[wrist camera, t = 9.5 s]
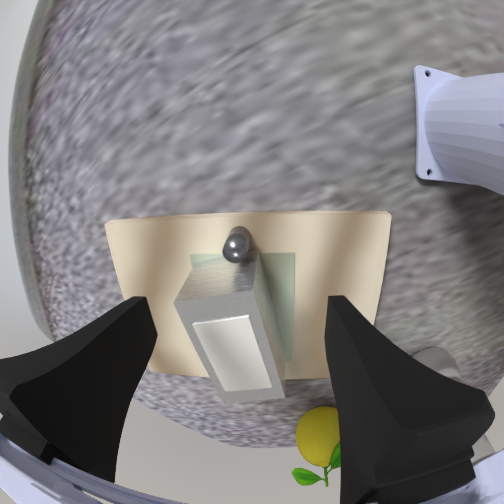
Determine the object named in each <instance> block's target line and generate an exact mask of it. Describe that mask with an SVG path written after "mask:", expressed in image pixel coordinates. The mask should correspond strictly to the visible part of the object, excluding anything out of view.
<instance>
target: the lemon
mask: <svg viewBox="0 0 504 504" xmlns="http://www.w3.org/2000/svg"><path fill="white" fill-rule="evenodd" d="M296 443H297V446H298V449H299V451H300V453H301V455H302V456H303V458H304V459H305V460H306V461H308V462H309V463H311V464H313V465H315V466H321V467H322V468H324V474H325V479H322V478H320V477H319V476H318V475H316V474H315V473H313V472H311V471H309V470H306V469H303V468H295V469H294V470H293V471H292V474H293V476H294V478H295V480H296V481H297V482H298V483H299V484H301V485H311V484H314V483H315V482H317V481H319V480H324V481H325V483H326V487H327V486H328V477H327V474H328V473H329V472H330V471H331V470H332V469H334V468H337V467H341V454H340V434H339V420H338V411H337V409H336V408H334V407H328V406H320V407H317V408H314V409H311V410H309V411H308V412H306V413H305V414H304V415H303V416H302V417H301V418H300V419H299V422H298V424H297V429H296ZM330 465H331V469H330V470H329V471H328V472H327V468H328V467H329V466H330Z"/></svg>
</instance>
